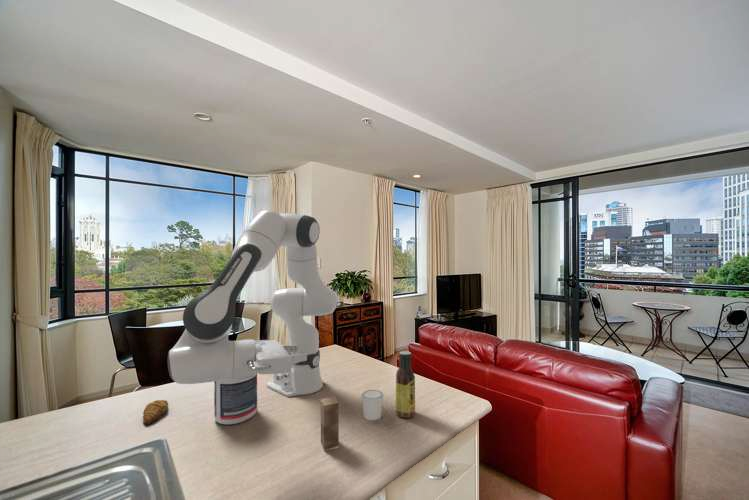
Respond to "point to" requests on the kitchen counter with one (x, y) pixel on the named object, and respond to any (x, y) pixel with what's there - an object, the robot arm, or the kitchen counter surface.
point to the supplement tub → (235, 399)
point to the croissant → (154, 411)
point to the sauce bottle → (405, 387)
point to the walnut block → (329, 423)
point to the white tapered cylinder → (372, 404)
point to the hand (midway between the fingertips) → (301, 352)
